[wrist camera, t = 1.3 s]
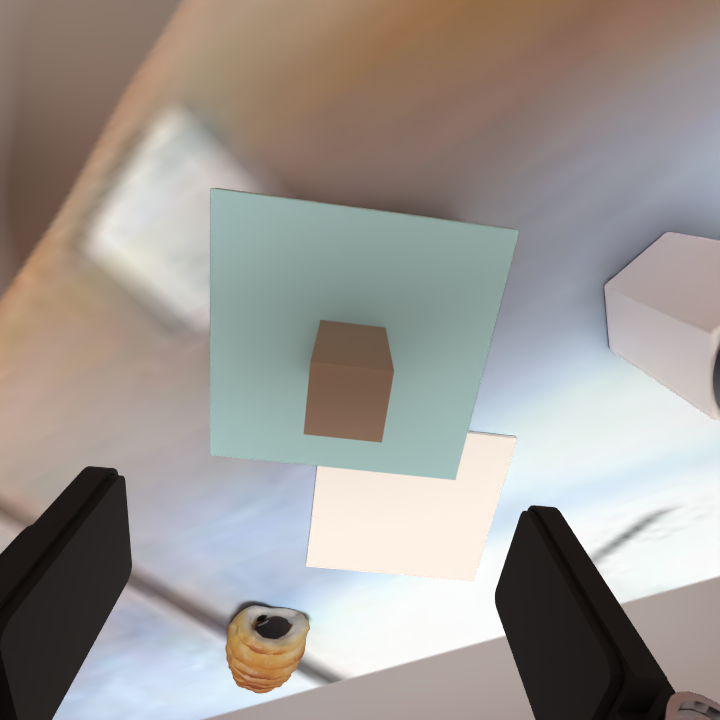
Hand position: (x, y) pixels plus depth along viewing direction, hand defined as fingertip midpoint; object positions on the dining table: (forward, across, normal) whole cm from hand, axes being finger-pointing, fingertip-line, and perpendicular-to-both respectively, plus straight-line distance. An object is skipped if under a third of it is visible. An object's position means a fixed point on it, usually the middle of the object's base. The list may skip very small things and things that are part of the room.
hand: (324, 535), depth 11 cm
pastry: (+20, +3, +31) cm, 37 cm away
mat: (+19, -7, +15) cm, 25 cm away
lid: (+14, -1, 0) cm, 14 cm away
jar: (+19, -21, -3) cm, 29 cm away
